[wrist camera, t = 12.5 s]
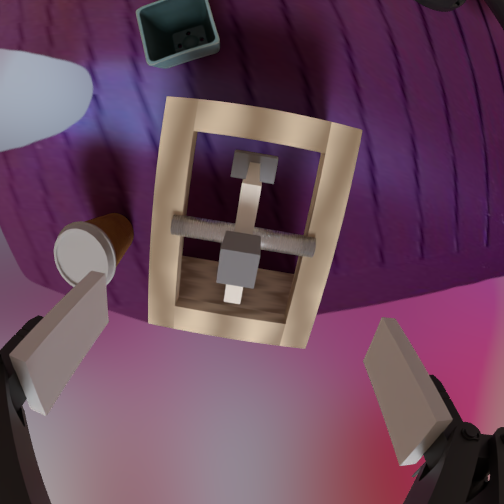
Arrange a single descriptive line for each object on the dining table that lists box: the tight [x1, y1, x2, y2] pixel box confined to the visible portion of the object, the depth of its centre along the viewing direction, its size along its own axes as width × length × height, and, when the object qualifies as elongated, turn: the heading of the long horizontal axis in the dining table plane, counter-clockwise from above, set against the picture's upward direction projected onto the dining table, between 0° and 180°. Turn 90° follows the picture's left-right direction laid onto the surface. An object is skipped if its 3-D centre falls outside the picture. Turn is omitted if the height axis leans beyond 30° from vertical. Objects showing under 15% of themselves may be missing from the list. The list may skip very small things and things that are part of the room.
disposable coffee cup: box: [54, 213, 134, 287], centre depth 41 cm, size 10×10×12 cm
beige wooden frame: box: [148, 96, 362, 348], centre depth 37 cm, size 18×24×17 cm
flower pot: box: [136, 0, 220, 68], centre depth 33 cm, size 9×9×9 cm
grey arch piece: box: [216, 150, 278, 304], centre depth 32 cm, size 5×13×16 cm, turn 170°
